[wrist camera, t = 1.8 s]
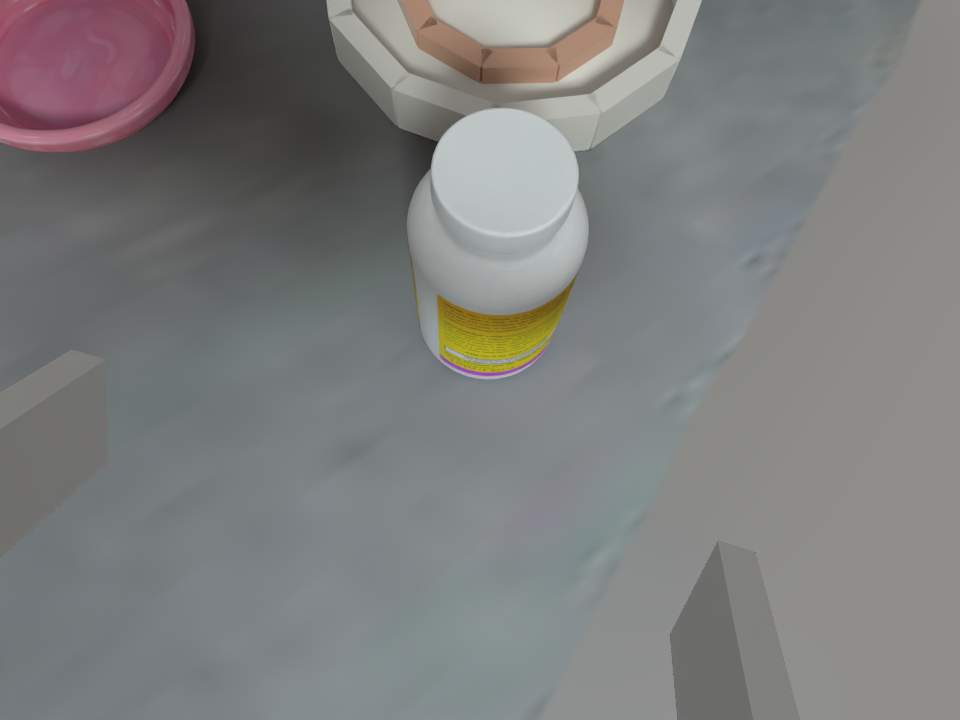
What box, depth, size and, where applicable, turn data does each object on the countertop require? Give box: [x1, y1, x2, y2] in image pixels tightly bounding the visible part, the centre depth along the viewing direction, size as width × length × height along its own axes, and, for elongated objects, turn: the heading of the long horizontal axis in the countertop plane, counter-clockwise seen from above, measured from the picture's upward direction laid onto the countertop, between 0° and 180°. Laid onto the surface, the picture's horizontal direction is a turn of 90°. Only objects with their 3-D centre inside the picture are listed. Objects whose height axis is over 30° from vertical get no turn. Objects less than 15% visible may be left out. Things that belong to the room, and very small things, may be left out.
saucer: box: [0, 0, 195, 152], centre depth 36 cm, size 12×12×3 cm
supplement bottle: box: [407, 108, 589, 379], centre depth 28 cm, size 7×7×13 cm
